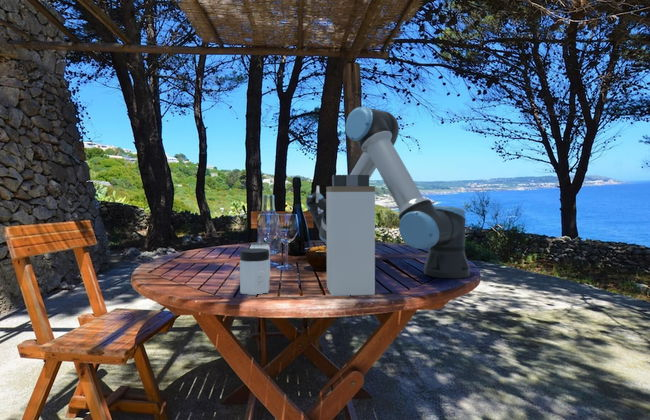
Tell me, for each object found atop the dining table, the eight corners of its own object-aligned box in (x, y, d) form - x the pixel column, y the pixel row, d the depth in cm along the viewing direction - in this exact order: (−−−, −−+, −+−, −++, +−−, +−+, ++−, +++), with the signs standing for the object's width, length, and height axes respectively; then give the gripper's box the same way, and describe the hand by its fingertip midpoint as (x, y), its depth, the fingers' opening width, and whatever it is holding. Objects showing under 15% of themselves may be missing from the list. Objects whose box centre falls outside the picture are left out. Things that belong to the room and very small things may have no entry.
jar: (246, 297, 117) (245, 253, 117) (234, 291, 124) (234, 249, 124) (275, 292, 122) (275, 250, 122) (263, 287, 129) (262, 247, 129)
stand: (326, 286, 130) (326, 186, 128) (365, 285, 131) (365, 186, 130) (331, 296, 118) (331, 186, 117) (374, 294, 119) (375, 186, 118)
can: (274, 279, 140) (273, 242, 140) (261, 283, 135) (260, 244, 134) (259, 277, 144) (258, 241, 143) (245, 280, 138) (245, 243, 138)
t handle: (325, 186, 139) (325, 176, 138) (356, 186, 140) (356, 176, 140) (334, 186, 119) (334, 174, 119) (369, 186, 120) (369, 174, 120)
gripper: (366, 227, 158) (378, 199, 139) (298, 228, 156) (301, 199, 137) (364, 209, 162) (375, 179, 143) (298, 209, 159) (300, 179, 140)
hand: (339, 189), depth 140 cm, fingers open, 13 cm apart
